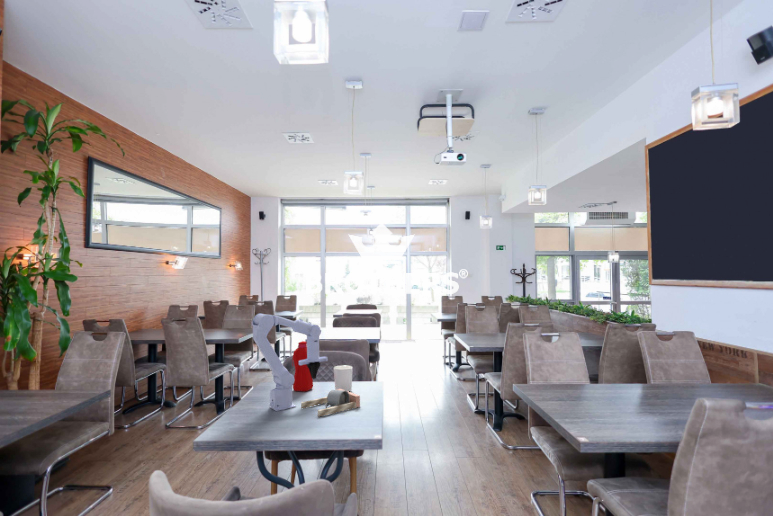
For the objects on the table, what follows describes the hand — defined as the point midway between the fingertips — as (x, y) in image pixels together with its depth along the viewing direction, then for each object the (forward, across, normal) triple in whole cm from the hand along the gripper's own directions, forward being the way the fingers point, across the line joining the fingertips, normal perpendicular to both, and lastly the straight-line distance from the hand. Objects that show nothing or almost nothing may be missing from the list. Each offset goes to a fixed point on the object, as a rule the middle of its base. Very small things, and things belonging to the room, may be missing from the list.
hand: (313, 378), depth 202 cm
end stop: (+10, +9, -15) cm, 21 cm away
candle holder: (+11, +20, +5) cm, 23 cm away
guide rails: (+10, -1, -15) cm, 18 cm away
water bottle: (+11, +5, +22) cm, 25 cm away
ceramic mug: (+11, +2, -17) cm, 20 cm away
